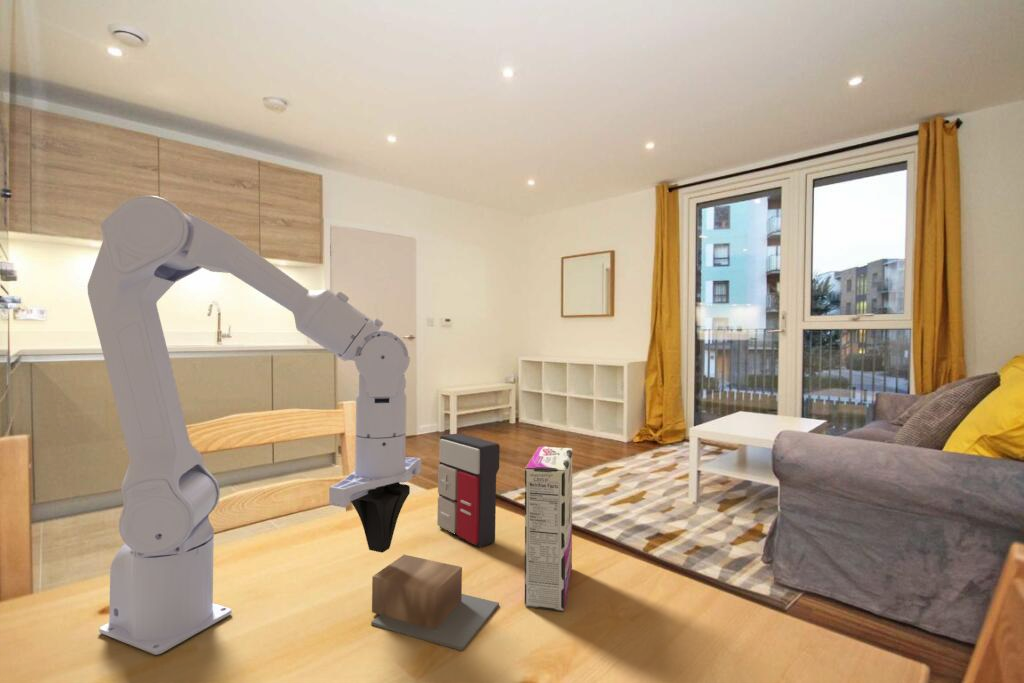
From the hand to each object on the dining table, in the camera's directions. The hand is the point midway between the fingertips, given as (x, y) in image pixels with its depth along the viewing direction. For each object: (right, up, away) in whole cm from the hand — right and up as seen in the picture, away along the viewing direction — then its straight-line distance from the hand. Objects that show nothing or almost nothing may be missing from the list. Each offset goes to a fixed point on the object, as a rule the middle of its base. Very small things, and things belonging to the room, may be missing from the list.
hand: (379, 549), depth 57 cm
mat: (+7, -6, -3) cm, 10 cm away
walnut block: (+1, -4, -1) cm, 4 cm away
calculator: (+8, -6, +19) cm, 22 cm away
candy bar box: (+20, -7, +4) cm, 22 cm away
